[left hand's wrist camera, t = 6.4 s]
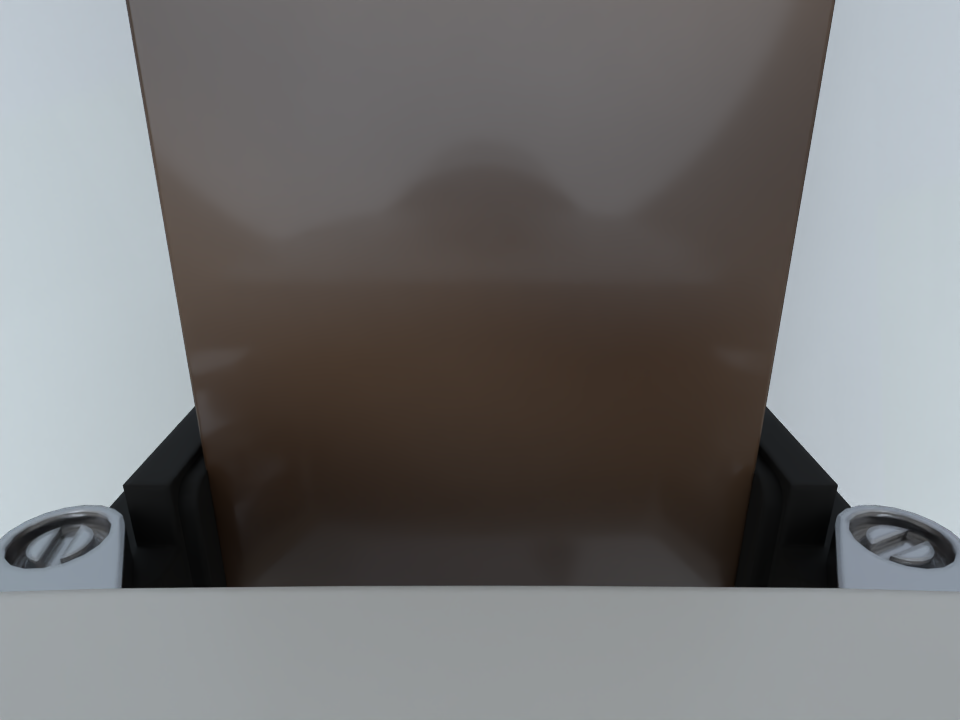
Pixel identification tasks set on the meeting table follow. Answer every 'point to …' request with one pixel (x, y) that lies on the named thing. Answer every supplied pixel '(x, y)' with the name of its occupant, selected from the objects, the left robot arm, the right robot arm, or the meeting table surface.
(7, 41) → the meeting table surface
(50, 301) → the meeting table surface
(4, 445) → the meeting table surface
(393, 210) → the cabinet
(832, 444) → the meeting table surface
